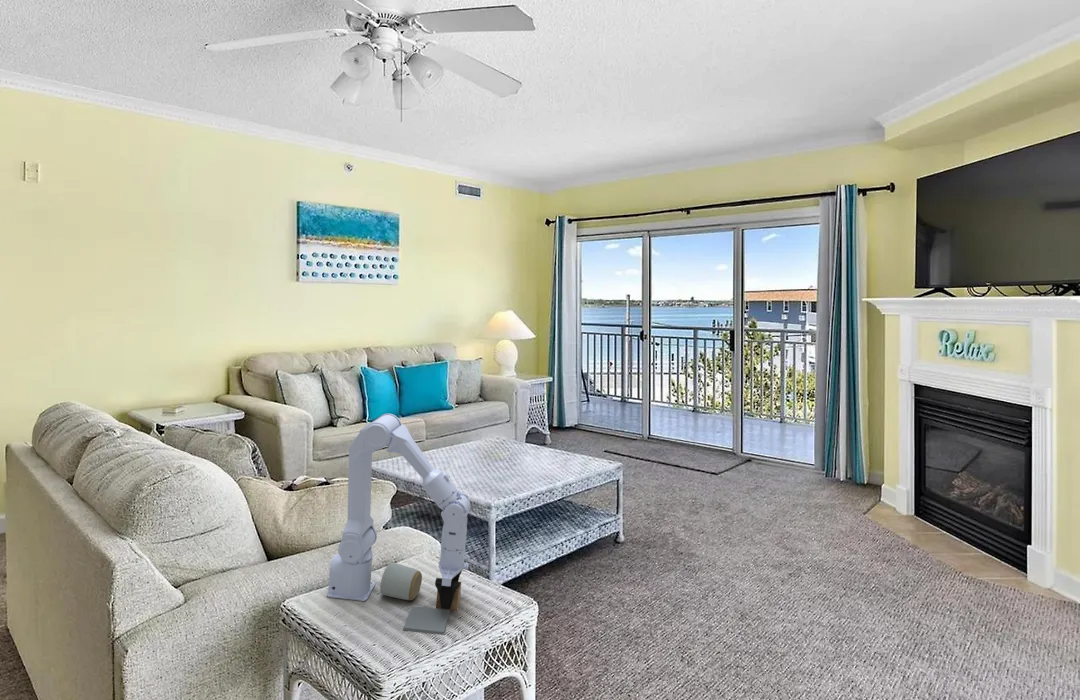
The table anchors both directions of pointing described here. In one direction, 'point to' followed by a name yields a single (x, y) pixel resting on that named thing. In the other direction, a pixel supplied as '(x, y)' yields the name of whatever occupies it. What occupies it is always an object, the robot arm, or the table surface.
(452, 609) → the letter cube
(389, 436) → the robot arm
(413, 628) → the slate mat
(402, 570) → the ceramic mug
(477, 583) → the table surface
